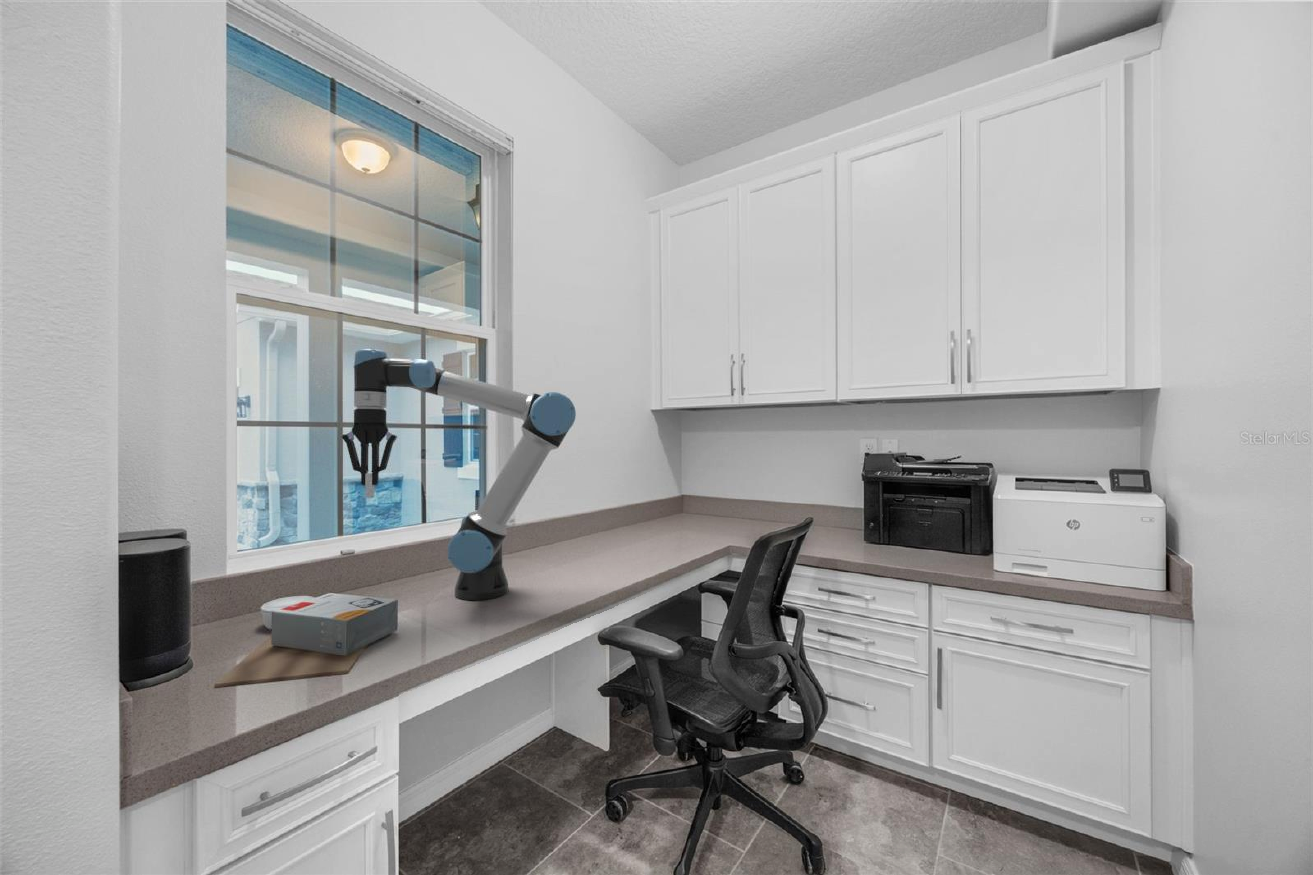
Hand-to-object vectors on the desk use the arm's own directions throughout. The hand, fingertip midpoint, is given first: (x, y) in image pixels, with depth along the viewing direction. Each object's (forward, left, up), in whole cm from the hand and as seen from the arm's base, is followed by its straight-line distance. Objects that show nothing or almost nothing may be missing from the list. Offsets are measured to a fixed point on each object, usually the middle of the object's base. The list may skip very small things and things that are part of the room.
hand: (369, 497), depth 137 cm
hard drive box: (-7, +24, -26) cm, 36 cm away
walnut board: (+6, +26, -30) cm, 40 cm away
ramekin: (+17, +4, -31) cm, 35 cm away
